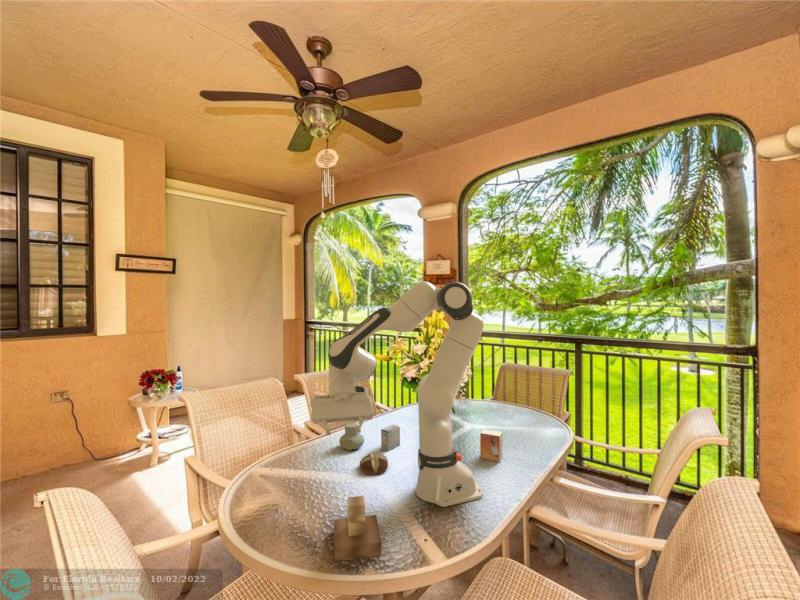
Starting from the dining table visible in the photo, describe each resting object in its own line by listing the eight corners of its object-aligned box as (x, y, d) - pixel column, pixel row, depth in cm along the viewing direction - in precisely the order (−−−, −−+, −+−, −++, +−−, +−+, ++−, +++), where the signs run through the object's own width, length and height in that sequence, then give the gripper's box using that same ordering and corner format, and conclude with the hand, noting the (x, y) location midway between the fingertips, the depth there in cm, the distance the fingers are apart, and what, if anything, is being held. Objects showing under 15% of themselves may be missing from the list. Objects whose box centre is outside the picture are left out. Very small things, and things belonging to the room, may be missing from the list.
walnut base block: (376, 528, 107) (376, 514, 107) (381, 557, 95) (381, 542, 95) (334, 533, 105) (334, 519, 105) (334, 563, 93) (333, 548, 93)
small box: (480, 458, 150) (479, 433, 150) (483, 453, 155) (483, 428, 155) (499, 462, 146) (499, 436, 146) (502, 457, 151) (502, 431, 151)
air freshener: (336, 449, 161) (335, 426, 161) (345, 442, 169) (344, 420, 169) (359, 452, 158) (358, 429, 157) (366, 445, 165) (366, 423, 165)
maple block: (364, 523, 103) (363, 495, 102) (365, 534, 98) (364, 504, 98) (348, 526, 102) (347, 497, 102) (348, 536, 97) (348, 506, 97)
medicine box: (392, 442, 168) (392, 424, 167) (400, 445, 165) (400, 426, 165) (381, 448, 161) (380, 429, 161) (388, 451, 159) (388, 431, 159)
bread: (388, 461, 149) (387, 449, 149) (387, 475, 138) (387, 462, 138) (360, 462, 149) (360, 450, 149) (358, 476, 137) (357, 462, 137)
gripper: (310, 391, 121) (308, 431, 112) (372, 387, 125) (375, 426, 116) (311, 400, 126) (309, 440, 116) (370, 397, 130) (374, 435, 120)
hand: (343, 433), depth 116 cm, fingers open, 8 cm apart
